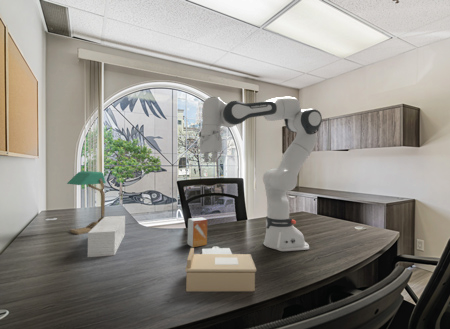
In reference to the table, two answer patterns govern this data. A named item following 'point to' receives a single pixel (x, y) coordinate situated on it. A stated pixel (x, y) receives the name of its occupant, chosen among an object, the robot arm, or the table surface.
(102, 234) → the stack of papers
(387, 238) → the table surface
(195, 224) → the small box
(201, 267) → the lid
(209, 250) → the mounting plate
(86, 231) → the banker's lamp
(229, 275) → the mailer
